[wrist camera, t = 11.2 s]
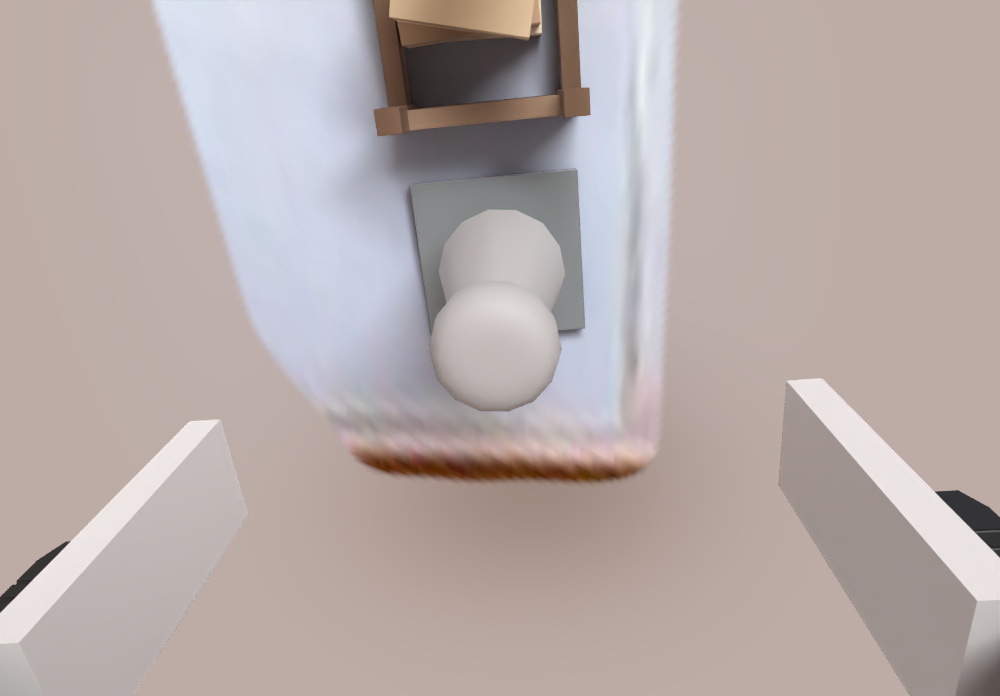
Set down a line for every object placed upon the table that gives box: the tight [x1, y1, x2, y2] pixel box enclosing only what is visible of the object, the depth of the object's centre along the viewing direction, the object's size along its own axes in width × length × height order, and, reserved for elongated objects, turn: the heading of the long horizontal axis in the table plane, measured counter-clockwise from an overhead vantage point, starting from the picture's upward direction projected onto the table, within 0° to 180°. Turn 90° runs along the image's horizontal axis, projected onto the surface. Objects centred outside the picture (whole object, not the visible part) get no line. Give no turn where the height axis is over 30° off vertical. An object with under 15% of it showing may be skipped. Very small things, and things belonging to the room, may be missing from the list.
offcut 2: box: [397, 0, 541, 48], centre depth 26 cm, size 6×2×2 cm, turn 99°
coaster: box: [410, 168, 585, 336], centre depth 33 cm, size 8×8×1 cm
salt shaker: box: [430, 209, 565, 411], centre depth 26 cm, size 6×6×13 cm
